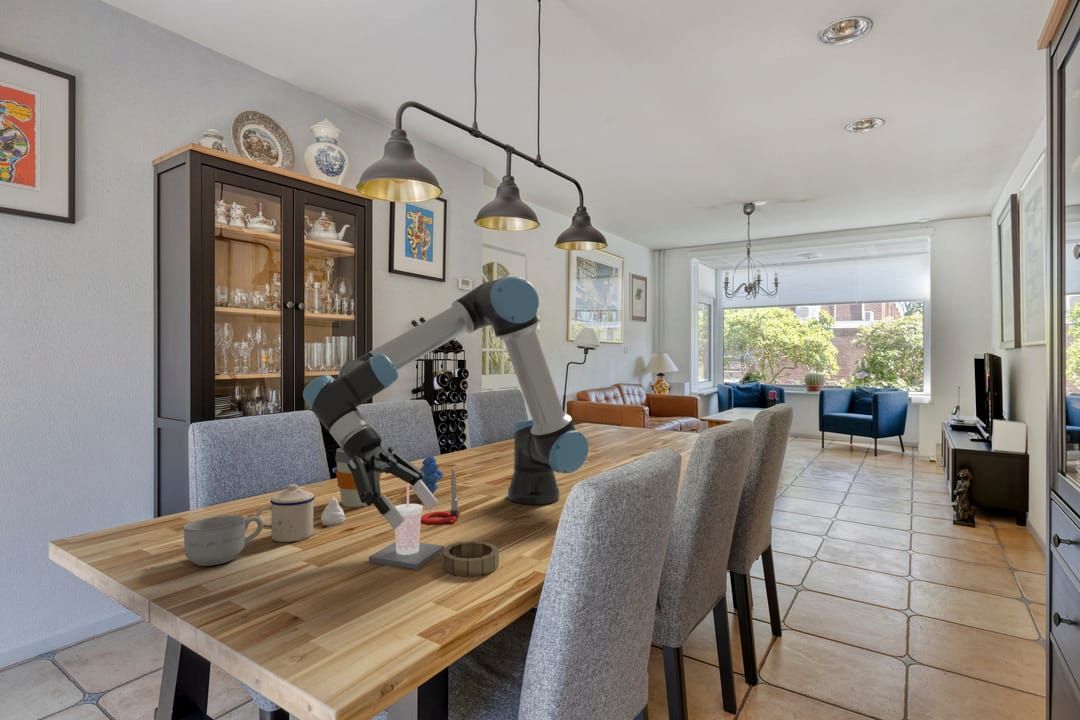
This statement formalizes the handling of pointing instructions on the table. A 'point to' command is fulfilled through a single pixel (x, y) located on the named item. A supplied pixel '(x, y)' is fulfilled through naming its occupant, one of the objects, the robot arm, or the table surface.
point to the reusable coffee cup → (347, 481)
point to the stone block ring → (479, 565)
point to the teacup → (217, 538)
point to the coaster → (406, 556)
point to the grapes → (431, 473)
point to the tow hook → (451, 515)
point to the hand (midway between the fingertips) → (417, 515)
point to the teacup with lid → (290, 515)
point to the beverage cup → (408, 527)
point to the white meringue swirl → (333, 513)
